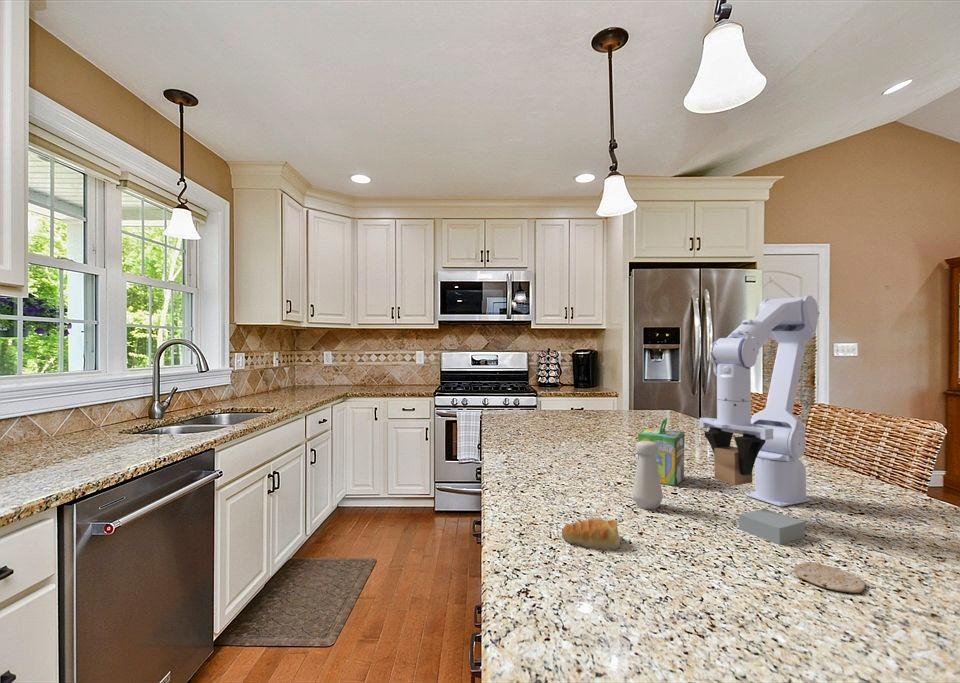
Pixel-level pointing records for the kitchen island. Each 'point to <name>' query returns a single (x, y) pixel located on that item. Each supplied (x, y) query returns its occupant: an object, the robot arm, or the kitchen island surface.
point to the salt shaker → (647, 477)
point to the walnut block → (729, 466)
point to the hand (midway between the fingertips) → (734, 471)
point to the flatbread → (829, 577)
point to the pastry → (593, 534)
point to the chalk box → (667, 452)
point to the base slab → (772, 526)
